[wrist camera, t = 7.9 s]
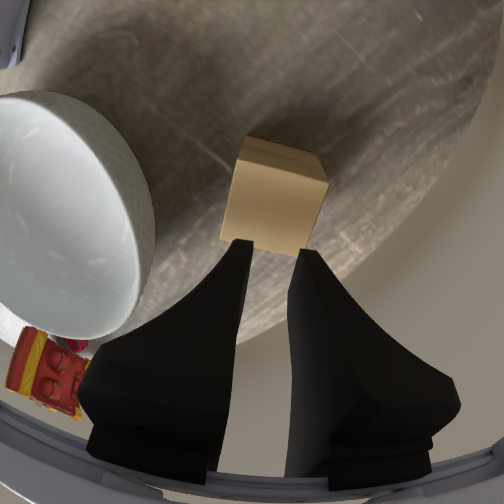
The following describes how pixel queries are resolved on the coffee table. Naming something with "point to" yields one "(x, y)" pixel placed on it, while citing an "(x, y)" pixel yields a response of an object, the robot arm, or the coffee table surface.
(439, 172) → the coffee table surface
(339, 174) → the coffee table surface
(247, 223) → the block
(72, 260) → the cereal bowl
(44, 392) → the book monster
